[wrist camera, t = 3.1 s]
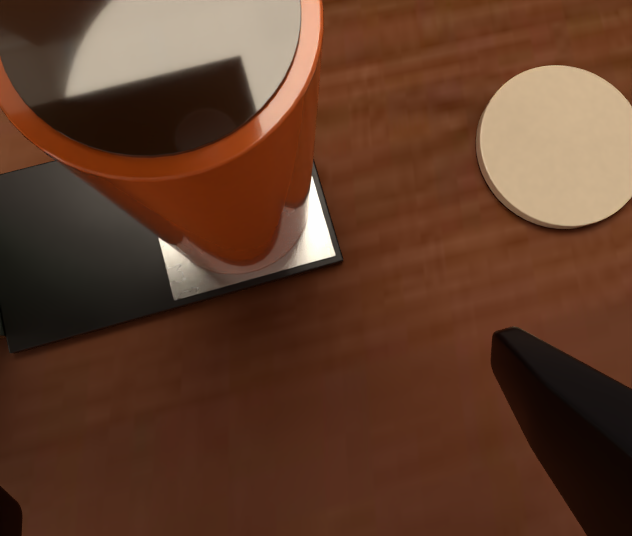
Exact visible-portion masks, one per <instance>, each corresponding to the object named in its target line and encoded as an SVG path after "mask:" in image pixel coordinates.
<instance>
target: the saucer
mask: <svg viewBox="0 0 632 536" xmlns="http://www.w3.org/2000/svg"><path fill="white" fill-rule="evenodd" d="M476 153H477V158H478V163H479V166H480V169H481V172H482V175H483V177H484V179H485V181H486V183H487V185H488V186H489V188H490V189H491V191H492V192H493V193H494V195H495V196H496V197H497V198H498V199H499V201H500V202H502V203H503V204H504V205H505V206H506V207H507V208H508V209H509V210H511V211H512V212H513V213H515V214H516V215H518V216H520V217H522V218H523V219H525V220H527V221H530V222H532V223H535V224H537V225H541V226H545V227H549V228H556V229H572V228H580V227H584V226H588V225H591V224H593V223H596V222H598V221H601V220H603V219H606V218H607V217H609V216H611V215H612V214H614V213H616V212H617V211H618V210H619V209H621V208H622V207H623V206H624V205H625V204H626V203H627V202H628V201H629V200H630V198H631V197H632V106H631V105H630V103H629V102H628V101H627V99H626V98H625V97H624V96H623V95H622V94H621V93H620V92H619V91H618V90H617V89H616V88H615V87H614V86H613V85H611V84H610V83H608V82H607V81H606V80H604V79H602V78H601V77H599V76H597V75H595V74H593V73H590V72H588V71H585V70H582V69H579V68H575V67H569V66H558V65H552V66H542V67H538V68H533V69H530V70H528V71H525V72H522V73H520V74H518V75H517V76H515V77H513V78H512V79H510V80H509V81H507V82H506V83H505V84H504V85H503V86H502V87H501V88H500V89H499V90H498V91H497V92H496V93H495V94H494V96H493V97H492V98H491V100H490V101H489V102H488V104H487V105H486V107H485V109H484V111H483V113H482V115H481V118H480V120H479V124H478V128H477V135H476Z"/></svg>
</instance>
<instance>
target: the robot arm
mask: <svg viewBox="0 0 632 536" xmlns="http://www.w3.org/2000/svg"><path fill="white" fill-rule="evenodd" d="M491 367H492V370H493V373H494V375H495V377H496V379H497V381H498V383H499V385H500V387H501V389H502V391H503V393H504V395H505V397H506V399H507V401H508V403H509V405H510V407H511V409H512V411H513V413H514V415H515V417H516V419H517V421H518V423H519V425H520V427H521V429H522V431H523V433H524V435H525V437H526V439H527V441H528V443H529V445H530V446H531V448H532V450H533V452H534V453H535V455H536V456H537V458H538V460H539V461H540V463H541V464H542V466H543V468H544V469H545V471H546V472H547V474H548V475H549V477H550V478H551V480H552V482H553V483H554V485H555V486H556V488H557V489H558V491H559V492H560V494H561V496H562V497H563V499H564V500H565V502H566V503H567V505H568V506H569V508H570V510H571V511H572V513H573V514H574V516H575V517H576V519H577V520H578V522H579V524H580V525H581V527H582V528H583V530H584V531H585V533H586V534H587V536H632V389H631V388H629V387H627V386H625V385H623V384H622V383H620V382H618V381H616V380H614V379H612V378H611V377H609V376H607V375H605V374H603V373H601V372H600V371H598V370H596V369H594V368H592V367H590V366H588V365H587V364H585V363H583V362H581V361H579V360H577V359H576V358H574V357H572V356H570V355H568V354H566V353H565V352H563V351H561V350H559V349H557V348H555V347H554V346H552V345H550V344H548V343H546V342H544V341H543V340H541V339H539V338H537V337H535V336H533V335H532V334H530V333H528V332H526V331H524V330H522V329H520V328H518V327H508V328H505V329H502V330H498V331H496V332H494V334H493V336H492V348H491ZM0 536H22V510H21V507H20V505H19V503H18V502H17V501H16V500H15V499H14V498H13V497H12V496H11V495H9V494H8V493H7V492H6V491H5V490H4V489H3V488H2V487H1V486H0Z"/></svg>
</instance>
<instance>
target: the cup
mask: <svg viewBox="0 0 632 536" xmlns="http://www.w3.org/2000/svg"><path fill="white" fill-rule="evenodd" d="M323 33H324V10H323V3H322V0H0V108H1V110H2V111H3V112H4V114H5V115H6V117H7V118H8V119H9V121H10V122H11V123H12V124H13V125H14V126H15V127H16V128H17V129H18V130H19V131H20V132H21V133H22V135H23V136H24V137H25V138H27V139H28V140H29V141H30V142H32V143H33V144H34V145H36V146H37V147H38V148H39V149H41V150H42V151H43V152H45V153H46V154H47V155H49V156H50V157H51V158H53V159H54V160H55V161H57V162H58V163H59V164H61V165H62V166H63V167H65V168H66V169H67V170H69V171H70V172H71V173H73V174H74V175H75V176H77V177H78V178H79V179H81V180H82V181H83V182H85V183H86V184H87V185H89V186H90V187H91V188H93V189H94V190H95V191H97V192H98V193H99V194H101V195H102V196H104V197H105V198H106V199H108V200H109V201H110V202H112V203H113V204H114V205H116V206H117V207H118V208H120V209H121V210H122V211H124V212H125V213H126V214H128V215H129V216H130V217H132V218H133V219H134V220H136V221H137V222H138V223H140V224H141V225H142V226H144V227H145V228H146V229H148V230H149V231H150V232H152V233H153V234H154V235H156V236H157V237H158V238H160V239H161V240H162V241H164V242H165V243H167V244H168V245H169V246H171V247H172V248H173V249H175V250H176V251H177V252H179V253H180V254H181V255H183V256H184V257H185V258H187V259H188V260H189V261H191V262H193V263H194V264H196V265H198V266H200V267H202V268H205V269H207V270H210V271H214V272H218V273H225V274H241V273H248V272H252V271H256V270H259V269H261V268H264V267H266V266H268V265H270V264H272V263H274V262H275V261H277V260H278V259H280V258H281V257H282V256H284V255H285V254H286V253H287V252H288V251H289V250H290V249H291V248H292V246H293V245H294V244H295V243H296V241H297V240H298V238H299V236H300V235H301V233H302V231H303V229H304V226H305V224H306V221H307V217H308V212H309V205H310V193H311V181H312V168H313V156H314V144H315V131H316V119H317V107H318V94H319V82H320V70H321V57H322V45H323Z"/></svg>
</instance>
